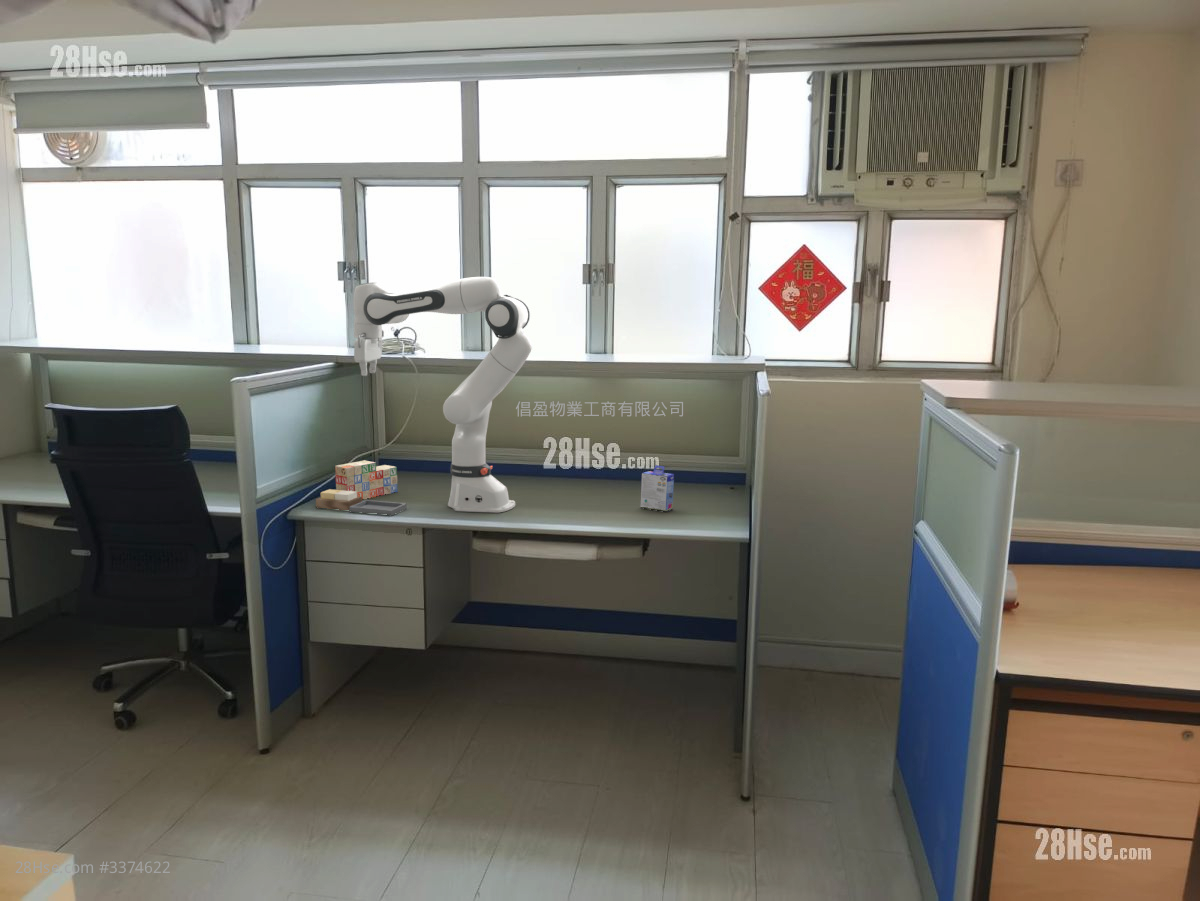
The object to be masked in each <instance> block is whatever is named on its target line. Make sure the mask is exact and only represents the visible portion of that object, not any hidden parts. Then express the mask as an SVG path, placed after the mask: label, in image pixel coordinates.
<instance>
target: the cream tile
mask: <svg viewBox="0 0 1200 901" xmlns="http://www.w3.org/2000/svg"><path fill="white" fill-rule="evenodd" d="M354 498H357V492H355V491H344V490H343V491H340V492H338V493H335V500H343V501H349V500H352V499H354Z"/></svg>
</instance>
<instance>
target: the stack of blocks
mask: <svg viewBox="0 0 1200 901" xmlns="http://www.w3.org/2000/svg"><path fill="white" fill-rule="evenodd" d="M397 468H398V467H397V466H394V465H389V464H388V465H387V464H382V465H377V462H376V461H375V462H374V461H369V460H365V459H364V460H359V461H354V462H353V461H352V462H349V463H344V464H338V465H335V475H334V476H335V488H336V489H335V490H344V491H355V492H357V496H359V497H362V499H364V500H368V499H367V498H369V499H372V498H377V497H380V496H379V495H381V496H386V495H388V494H395V493H398V469H397ZM394 492H395V493H394ZM385 494H386V495H385ZM376 496H377V497H376ZM371 497H372V498H371Z"/></svg>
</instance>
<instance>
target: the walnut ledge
mask: <svg viewBox="0 0 1200 901" xmlns="http://www.w3.org/2000/svg"><path fill="white" fill-rule="evenodd" d="M362 501H363V500H362V497H359V496H357V498H354V499H352V500H349V501H343V500H332V499H321V496H320V497H318V498H316V499H315V508H316V507H318V508H317V509H319V508H327V509H326V510H330V509H339V510H338V511H341V510H349V507H350V506H352V505H355V504H357V503H360V502H362Z"/></svg>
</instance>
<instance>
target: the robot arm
mask: <svg viewBox="0 0 1200 901" xmlns="http://www.w3.org/2000/svg"><path fill="white" fill-rule="evenodd" d="M478 312H484V319H485V322H486V323H487V325H488V328H490V329H491V331H492V333H493V334H494V335H495V337H496V338H497V339H498V340H497V342H496V343H495V344H494V346H493V347H492V348H491V349H490V351H489V352H488V353H487V354H486V355H485V357H484V358H483V360H481V362H480V363H479V365H477V367H476V368H475V369H474V370H473V371H472V372H471V373H470V374H469V375H468V376H467V377H466V378H465V379H464V380H463V381H462V382H461V383H460V384H459V385H458V386H457V388H456V389H454V390H453V392H452V393H451V394H450V395H449V396H448V397H447V398H446V400H445V401H444V403H443V405H442V412H443V416H444V418H445V419H446V420H447V421H448V422H450V423H451V424H453V425H455V429H454V433H453V436H452V439H451V463H450V480H451V486H450V494H449V499H448V502H447V506H448V507H449V508H451V509H453V510H454V511H455V512H473V513H474V512H475V513H504V512H506V511H510V510H511V509H514V507H515V506H516V501H515V500H511V499H510V497H509V491H508V487H507V486H506V485H504V484H503V483H502V482H501V481H499V480H498V479H497V478H496V477H495V476H493V475H492V472H491V471H492V469H493V465H489V464H488V463H487V462H486V461H487V460H486V455H487V454H486V444H487V443H486V442H487V440H486V439H487V431H488V428H489V419H490V412H491V410H492V406H493V405H492V404H493V400H494V399H495V398H496V397H497V396H499V394H501V393H502V392H503V390H505V388H506V387H507V385H508V384H509V383H510V382H511V381H512V380H513V378H515V376H516V375H517V373H518V372H519V371H520V370H521V368H522V367H523V365H525V362H526V361H527V359H528V357H529V355H530V354H531V352H532V350H533V344H532V342H531V339H530V338H529V337H528V335H526V334H525V332H524V331H523V330H524V328H526V326H528V323H529V321H530V317H531V315H530V314H531V313H530V309H529V307H528V306H527V305H526V303H525V302H524V301H522V300H521V299H519V298H516V297H514V296H511V295H508V294H503V293H502V290H501V287H500V285H499V283H498V282H497V280H496V279H495V278H494V277H490V276H489V277H488V276H473V277H464V278H460V279H455V280H452V281H448V282H446V283H442V284H440V285H437V286H435V287H432V288H428V289H425V290H422V291H417V292H411V293H406V294H405V293H404V294H403V293H402V294H397V293H395V292H393V291H389V290H388V289H385V287H383V286H381V285H380V284H379V283H378V282H365V283H360V284H357V285H356V287H355V289H354V292H353V313H354V321H353V338H356V339H355V340H354V346H353V348H354V349H353V350H354V351H353V358H354V362H356V363H358V364H359V368H360V375H361V376H363V377H367V376H368V375H369V374H368V373H370V374H376V370H377V369H376V367H377V364H378V360H380V359H381V358H382V354H383V338H384V337H385V331H384V330H383V328H382V326H383V325H391V324H400V323H403V322H404V321H406V320H407V318H408V317H409V315H413V314H417V313H437V314H446V315H465V314H466V315H468V314H472V313H478ZM368 363H369V367H368Z"/></svg>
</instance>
